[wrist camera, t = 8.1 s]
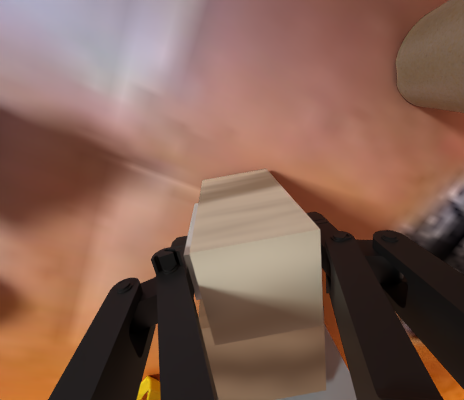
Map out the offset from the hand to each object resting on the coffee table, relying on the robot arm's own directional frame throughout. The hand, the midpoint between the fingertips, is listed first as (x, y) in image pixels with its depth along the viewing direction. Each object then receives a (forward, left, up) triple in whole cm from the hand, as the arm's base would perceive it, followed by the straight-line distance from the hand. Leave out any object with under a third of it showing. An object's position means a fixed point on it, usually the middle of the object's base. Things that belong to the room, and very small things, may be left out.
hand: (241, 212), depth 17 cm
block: (+11, 0, -2) cm, 11 cm away
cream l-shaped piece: (+5, 0, -2) cm, 6 cm away
